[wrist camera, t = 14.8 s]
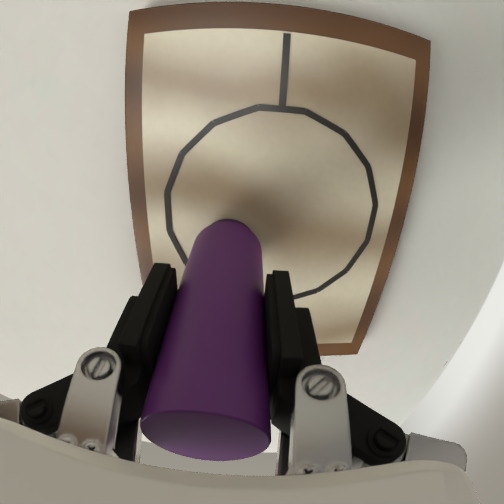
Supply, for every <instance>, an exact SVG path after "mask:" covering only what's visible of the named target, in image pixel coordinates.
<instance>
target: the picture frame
mask: <svg viewBox="0 0 504 504" xmlns="http://www.w3.org/2000/svg"><path fill="white" fill-rule="evenodd" d="M430 45H431V41H430V40H427V39H424V38H422V37H419V36H417V35H414V34H411V33H408V32H406V31H403V30H400V29H397V28H394V27H391V26H387V25H384V24H381V23H377V22H374V21H370V20H366V19H362V18H358V17H354V16H350V15H345V14H341V13H336V12H331V11H326V10H320V9H314V8H307V7H300V6H292V5H282V4H271V3H255V2H203V3H188V4H176V5H167V6H159V7H152V8H145V9H139V10H134V11H130V12H129V21H128V32H127V47H126V68H125V130H126V152H127V168H128V180H129V191H130V201H131V210H132V219H133V227H134V234H135V241H136V248H137V255H138V261H139V267H140V273H141V279H142V284H143V285H144V283H145V281H146V279H147V277H148V275H149V273H150V271H151V269H152V267H153V265H154V263H168V264H170V265H171V268H175V269H176V276H177V288H179V285H180V282H181V279H182V276H183V273H184V270H185V267H186V264H187V261H188V258H189V255H190V253H191V250H192V247H193V244H194V241H195V239H196V237H197V236H198V234H199V233H200V232H201V231H202V230H203V229H204V228H206V227H208V226H209V225H211V224H212V223H214V222H216V221H218V220H222V219H234V220H237V221H240V222H242V223H244V224H245V225H246V226H248V227H249V229H250V230H251V231H252V232H253V233H254V234H255V235H256V237H257V238H258V240H259V242H260V245H261V249H262V263H263V281H264V292H265V284H266V276H267V274H272V272H273V270H281V271H289V275H290V281H291V286H292V292H293V297H294V303H295V307H301V308H309V310H310V314H311V318H312V323H313V327H314V332H315V336H316V341H317V346H318V350H319V355H320V356H328V355H352V354H357V353H358V351H359V349H360V347H361V344H362V342H363V339H364V337H365V335H366V332H367V330H368V327H369V325H370V322H371V320H372V317H373V315H374V312H375V309H376V307H377V304H378V301H379V299H380V296H381V293H382V290H383V288H384V285H385V282H386V279H387V276H388V273H389V270H390V267H391V264H392V261H393V257H394V254H395V251H396V248H397V244H398V241H399V237H400V234H401V230H402V227H403V223H404V219H405V215H406V211H407V207H408V203H409V199H410V195H411V191H412V186H413V182H414V177H415V172H416V167H417V162H418V157H419V151H420V145H421V139H422V133H423V126H424V119H425V111H426V103H427V93H428V82H429V68H430Z"/></svg>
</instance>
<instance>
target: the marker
mask: <svg viewBox="0 0 504 504" xmlns="http://www.w3.org/2000/svg"><path fill="white" fill-rule="evenodd" d="M140 428H141V431H142V433H143V434H144V435H145V437H146V438H148V439H149V440H150V441H151V442H153V443H154V444H156V445H157V446H159V447H161V448H163V449H165V450H168V451H170V452H173V453H175V454H179V455H182V456H186V457H190V458H195V459H201V460H212V461H229V460H238V459H244V458H248V457H252V456H255V455H257V454H259V453H261V452H263V451H264V450H266V449H267V448H268V446H269V445H270V442H271V424H270V401H269V384H268V367H267V346H266V326H265V306H264V281H263V263H262V249H261V245H260V242H259V240H258V238H257V237H256V235H255V234H254V233H253V232H252V231H251V230H250V229H249V227H248V226H246V225H245V224H244V223H242V222H240V221H237V220H234V219H222V220H218V221H216V222H214V223H212V224H211V225H209V226H208V227H206V228H204V229H203V230H202V231H201V232H200V233H199V234H198V236H197V237H196V239H195V241H194V244H193V247H192V250H191V253H190V255H189V258H188V261H187V264H186V267H185V270H184V273H183V276H182V279H181V282H180V285H179V288H178V291H177V294H176V297H175V300H174V304H173V307H172V310H171V313H170V316H169V320H168V323H167V326H166V329H165V333H164V336H163V339H162V343H161V346H160V349H159V353H158V356H157V360H156V363H155V367H154V370H153V374H152V378H151V381H150V385H149V389H148V393H147V396H146V400H145V404H144V408H143V412H142V416H141V420H140Z"/></svg>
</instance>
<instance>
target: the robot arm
mask: <svg viewBox="0 0 504 504" xmlns="http://www.w3.org/2000/svg"><path fill="white" fill-rule="evenodd" d="M177 291H178V288H177V276H176V269H175V268H171V265H170V264H168V263H154V265H153V267H152V269H151V271H150V273H149V275H148V277H147V279H146V281H145V283H144V285H143V287H142V289H141V291H140V294H139V296H131V297H130V299H129V300H128V302H127V304H126V306H125V309H124V311H123V313H122V315H121V317H120V319H119V321H118V323H117V325H116V328H115V330H114V332H113V334H112V336H111V339H110V341H109V343H108V345H107V348H105V347H97V348H93V349H90V350H88V351H87V352H85V353H84V354H83V355H82V356H81V357H80V358H79V360H78V362H77V365H76V368H75V371H74V373H73V374H71V375H69V376H67V377H65V378H63V379H61V380H58V381H56V382H54V383H52V384H50V385H48V386H45V387H43V388H41V389H39V390H36V391H34V392H32V393H31V394H29V395H27V396H26V398H25V399H24V400H23V401H22V402H21V401H20V400H19V399H13V400H6V401H0V504H480V501H479V498H478V495H477V492H476V490H475V488H474V485H473V483H472V481H471V479H470V478H469V476H468V475H467V473H466V472H465V471H466V463H467V455H466V452H465V450H464V449H463V448H462V447H461V446H460V445H459V444H456V443H453V442H448V441H443V440H439V439H435V438H431V437H427V436H423V435H420V434H415V433H410V434H409V435H408V434H405V433H404V432H403V430H402V429H401V428H400V427H399V426H398V425H397V424H395V423H394V422H392V421H390V420H389V419H387V418H385V417H384V416H382V415H380V414H379V413H377V412H376V411H374V410H372V409H371V408H369V407H368V406H366V405H364V404H363V403H361V402H360V401H358V400H356V399H355V398H353V397H352V396H350V395H349V394H347V392H346V384H345V381H344V378H343V377H342V375H341V374H340V373H339V372H338V371H336V370H335V369H334V368H331V367H329V366H326V365H321V360H320V355H319V350H318V346H317V341H316V336H315V332H314V327H313V323H312V318H311V314H310V310H309V308H301V307H295V303H294V297H293V292H292V286H291V281H290V275H289V271H281V270H273V272H272V274H267V276H266V284H265V292H264V306H265V326H266V346H267V367H268V384H269V401H270V420H271V423H272V424H273V425H274V426H275V427H277V428H278V429H279V439H278V451H277V463H276V473H275V476H239V475H221V474H208V473H198V472H189V471H182V470H175V469H168V468H162V467H157V466H151V465H146V464H141V463H140V450H141V438H142V431H141V428H140V420H141V416H142V412H143V408H144V404H145V400H146V396H147V393H148V389H149V385H150V381H151V378H152V374H153V370H154V367H155V363H156V360H157V356H158V353H159V349H160V346H161V343H162V339H163V336H164V333H165V329H166V326H167V323H168V320H169V316H170V313H171V310H172V307H173V304H174V300H175V297H176V294H177Z"/></svg>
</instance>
